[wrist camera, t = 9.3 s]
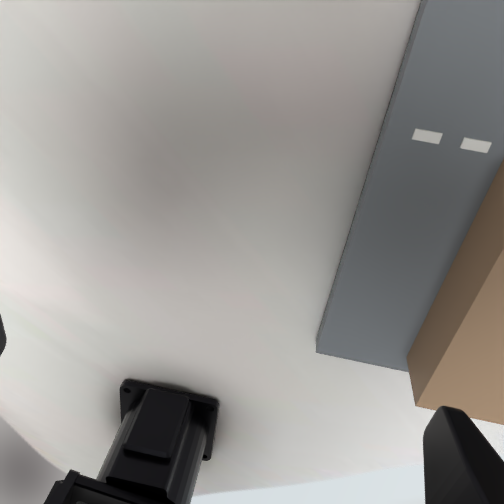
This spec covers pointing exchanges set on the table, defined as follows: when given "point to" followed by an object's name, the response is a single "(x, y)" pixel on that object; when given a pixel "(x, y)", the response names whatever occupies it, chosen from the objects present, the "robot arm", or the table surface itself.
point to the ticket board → (433, 221)
